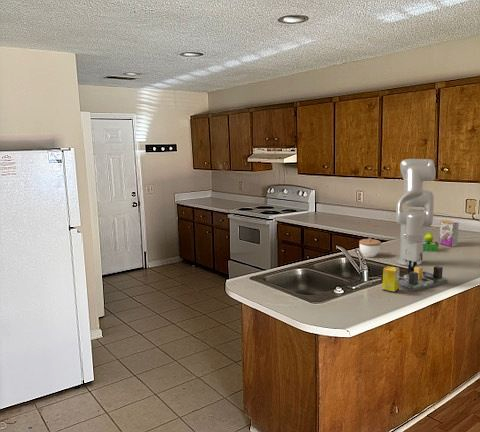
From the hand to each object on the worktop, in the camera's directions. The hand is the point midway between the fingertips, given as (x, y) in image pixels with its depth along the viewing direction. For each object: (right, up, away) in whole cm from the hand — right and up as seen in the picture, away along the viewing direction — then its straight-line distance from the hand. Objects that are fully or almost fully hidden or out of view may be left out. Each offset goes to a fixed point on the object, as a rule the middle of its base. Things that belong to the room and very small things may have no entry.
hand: (411, 273), depth 225 cm
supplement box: (-15, -7, -13) cm, 21 cm away
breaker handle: (+2, -3, -3) cm, 5 cm away
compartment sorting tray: (+2, -5, -3) cm, 6 cm away
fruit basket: (+34, +7, +60) cm, 69 cm away
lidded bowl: (-7, +4, +48) cm, 49 cm away
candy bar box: (+52, +9, +72) cm, 89 cm away
